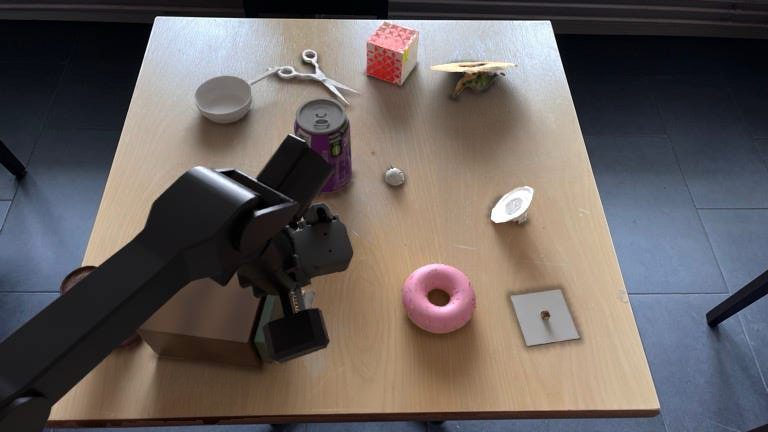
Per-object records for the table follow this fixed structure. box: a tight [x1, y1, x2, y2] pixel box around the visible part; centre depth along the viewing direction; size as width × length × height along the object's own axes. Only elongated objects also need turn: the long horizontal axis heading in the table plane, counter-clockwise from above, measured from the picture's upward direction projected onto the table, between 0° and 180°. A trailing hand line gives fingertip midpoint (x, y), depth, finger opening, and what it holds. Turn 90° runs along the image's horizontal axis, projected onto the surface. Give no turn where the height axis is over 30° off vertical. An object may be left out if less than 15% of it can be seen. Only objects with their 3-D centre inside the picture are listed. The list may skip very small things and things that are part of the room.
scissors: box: [267, 49, 362, 105], centre depth 106 cm, size 11×1×20 cm
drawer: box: [250, 289, 316, 365], centre depth 72 cm, size 18×11×8 cm, turn 83°
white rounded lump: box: [385, 164, 405, 186], centre depth 91 cm, size 3×4×3 cm
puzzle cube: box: [366, 20, 420, 87], centre depth 106 cm, size 8×8×8 cm
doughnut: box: [400, 262, 477, 334], centre depth 77 cm, size 11×11×4 cm
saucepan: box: [193, 65, 281, 124], centre depth 101 cm, size 11×18×4 cm, turn 129°
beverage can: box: [293, 96, 353, 194], centre depth 86 cm, size 9×9×15 cm
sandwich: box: [429, 61, 518, 99], centre depth 105 cm, size 18×14×8 cm
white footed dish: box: [490, 185, 534, 225], centre depth 86 cm, size 8×5×8 cm
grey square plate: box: [510, 289, 580, 347], centre depth 77 cm, size 8×8×2 cm
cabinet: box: [136, 272, 263, 370], centre depth 72 cm, size 15×13×10 cm
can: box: [59, 265, 142, 350], centre depth 69 cm, size 6×6×14 cm
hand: (300, 291), depth 65 cm, fingers open, 9 cm apart
